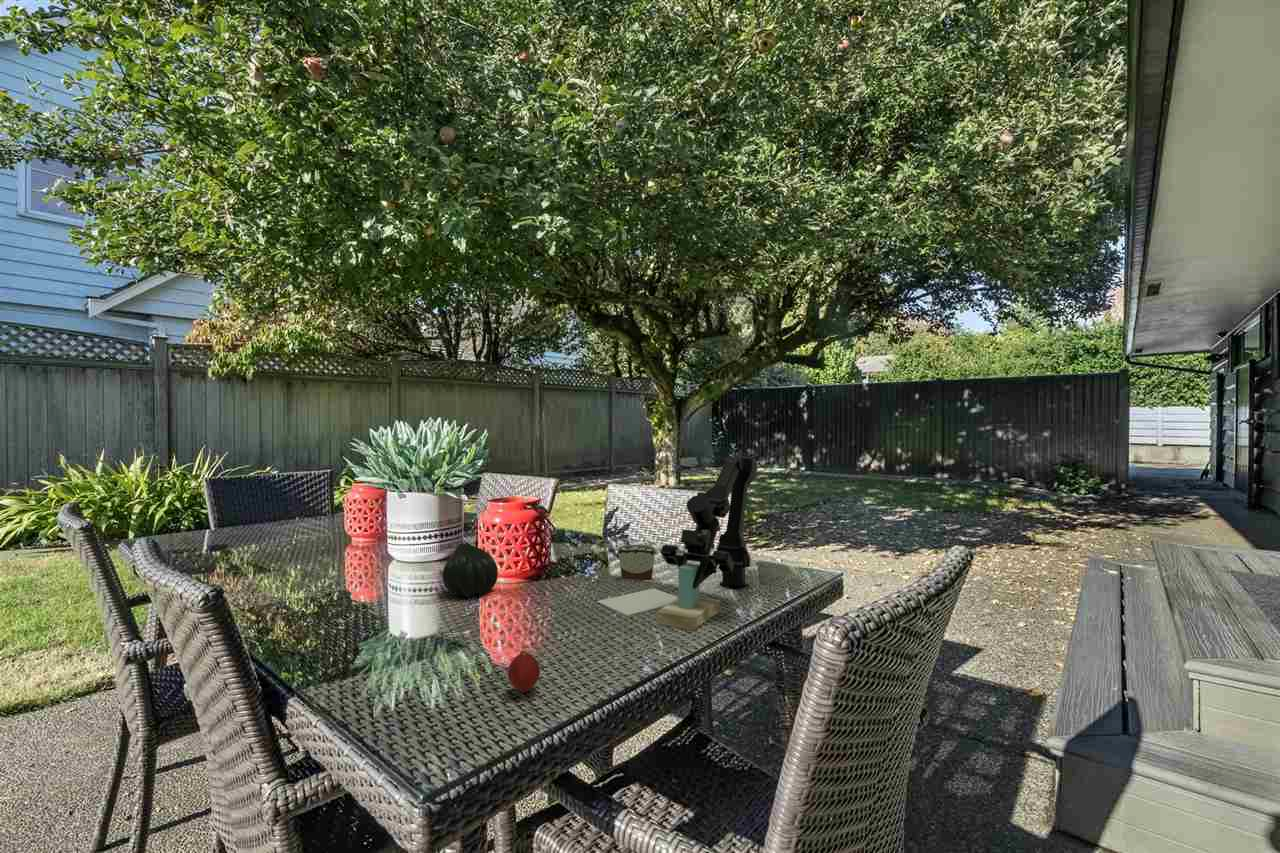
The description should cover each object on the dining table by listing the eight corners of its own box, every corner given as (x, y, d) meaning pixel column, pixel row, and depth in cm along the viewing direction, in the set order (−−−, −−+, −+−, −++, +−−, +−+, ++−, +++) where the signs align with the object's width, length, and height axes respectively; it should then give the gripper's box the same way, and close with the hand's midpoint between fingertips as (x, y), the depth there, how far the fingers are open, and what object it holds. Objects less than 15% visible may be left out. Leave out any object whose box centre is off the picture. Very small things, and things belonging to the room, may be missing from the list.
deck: (684, 605, 163) (684, 594, 163) (719, 611, 159) (719, 600, 158) (656, 623, 149) (656, 611, 149) (694, 630, 145) (694, 618, 144)
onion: (510, 685, 115) (510, 643, 115) (541, 684, 116) (540, 642, 116) (506, 699, 110) (506, 655, 109) (538, 698, 110) (538, 654, 110)
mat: (653, 589, 178) (653, 588, 178) (686, 601, 167) (686, 600, 167) (596, 602, 166) (596, 601, 166) (627, 616, 155) (627, 614, 155)
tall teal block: (686, 601, 157) (687, 563, 157) (699, 603, 155) (699, 564, 155) (678, 607, 153) (678, 567, 152) (691, 609, 151) (691, 569, 151)
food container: (657, 575, 193) (658, 544, 193) (656, 581, 187) (656, 548, 187) (619, 574, 194) (619, 543, 194) (616, 580, 188) (616, 547, 188)
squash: (511, 576, 172) (491, 531, 179) (463, 588, 162) (443, 541, 168) (493, 600, 180) (474, 557, 187) (445, 614, 170) (427, 568, 176)
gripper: (663, 514, 161) (643, 564, 152) (730, 520, 152) (712, 574, 143) (676, 538, 168) (657, 588, 159) (740, 545, 159) (724, 599, 150)
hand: (686, 586), depth 153 cm, fingers closed on tall teal block, 3 cm apart
